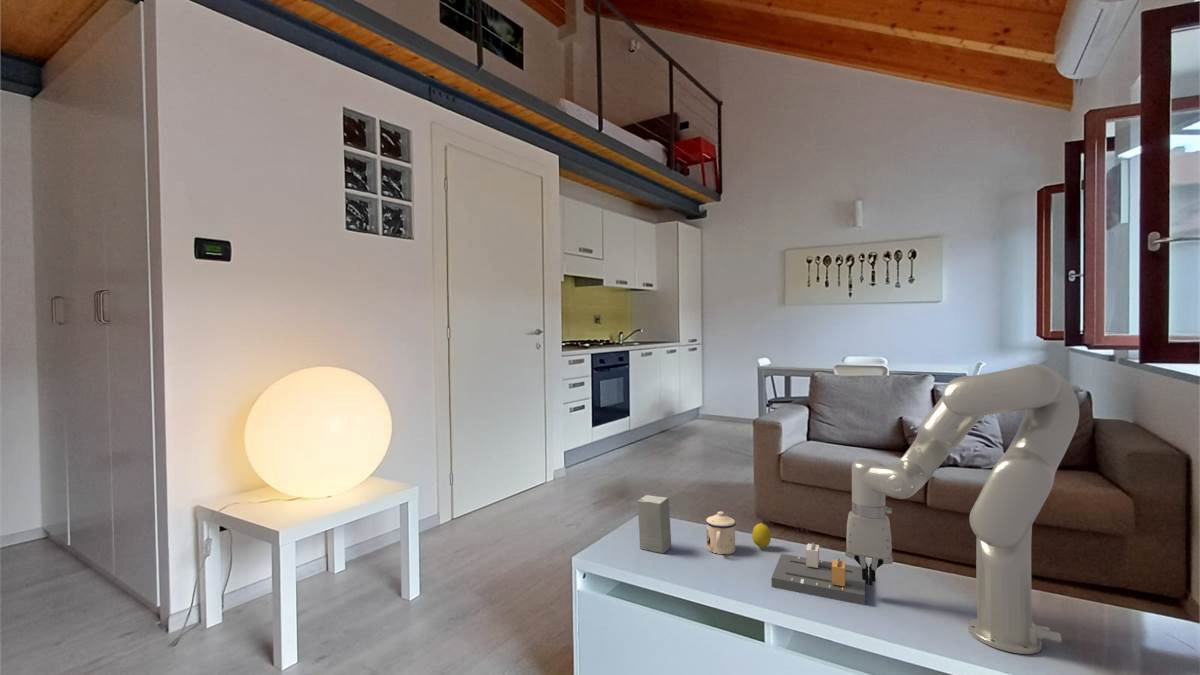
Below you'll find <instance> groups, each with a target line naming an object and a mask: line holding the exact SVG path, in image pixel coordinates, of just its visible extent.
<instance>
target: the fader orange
mask: <svg viewBox="0 0 1200 675" xmlns="http://www.w3.org/2000/svg"><path fill="white" fill-rule="evenodd" d="M831 562H832V584H834V585H839V586H845V579H846V571H845V564H846V561H845V560H841V558H839V557H838V559H832V561H831Z"/></svg>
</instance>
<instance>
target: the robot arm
mask: <svg viewBox="0 0 1200 675" xmlns="http://www.w3.org/2000/svg"><path fill="white" fill-rule="evenodd" d="M941 395H942V396H941V397H940V398H939V400H938V401H937V402H936V404H935V405H934V406H933V408H932V409H931V410H930V412H929V413H928V414H927V415H926V416H925V418H924V419H923V420H922V421H921V422H920V424H919V426H918V429H917V430H918V431H917V434H916V438H914V440H913V442H912V444H911V445H910V446H909V448H908V449H907V450H906V452H905V453H904V454H903V456H901V458H900V459H899V460H898V462H897V463H895V464H893V465H890V466H885V465H884V464H883V463H882V462H880V461H878V460H874V459H873V460H872V459H856V460H853V462H852V463H851V510H850V511H848V515H847V522H846V536H845V537H846V540H845V541H846V544H845V545H846V550H845V557H847V558H850V559H853V560H854V561H855V562H857V564H859V567H861V568H862V580H865V586H868V585H869V586H870V587H873V582H874V583H876V571H877V569H878V568H879V567H881V566H883V565H892V564H893V563H894V559H893V556H892V552H893V550H892V549H893V547H892V532H891V530H892V529H891V523H890V519H889V516H888V515H892V514H893V509H892V507H891V508H890V507H888V506H887V505H886V496H887V497H888V496H889V497H891V498H894V499H900V500H905V499H906V500H907V499H909V498H911V497H912V496H914V495H915V494H916V493H917V492H918V491H919V490H920V489H922V488H923V487H924V486H925V484H926V483H927V482H928V481H929V480H930V478H931V477H932V476H933V475H934V473H935V472H936V471H937V470H938V469H939V467H941V466H942V463H943V462H945V460H946V459H947V458H948V457H949V455H951V454H952V453H954V451H955V450H956V449H957V447H958V446H959V445H960V444H961V442H962V441H963V440H964V439H965V437H966V436H967V434H969V433H970V431H971V430H972V429H973V427H974V426H975V425H976V424H977V423H978V422H979V421H980V420H981V418H982V417H983V416H987V415H996V414H1002V413H1003V414H1004V413H1010V412H1017V411H1025V410H1026V411H1025V415H1024V417H1023V419H1022V420H1021V423H1020V425H1019V426H1018V429H1017V431H1016V434H1015V435H1014V438H1013V439H1012V441H1011V443H1010V445H1009V446H1008V448H1007V450H1006V451H1005V452H1004V453H1003V454H1002V455H1001V456H1000V458H999V459H998V460H997V461H996V462H995V463H994V466H993V467H992V470H991V471H990V473H989V475H988V477H987V480H986V481H985V483H984V485H983V487H982V489H981V491H980V493H979V494H978V497H977V499H976V500H975V502H974V505H973V506H972V508H971V510H970V514H969V525H970V528H971V531H972V532H973V533H974V536H976V544H975V545H976V546H975V548H976V549H975V551H976V552H975V553H976V554H975V555H976V559H975V560H976V564H975V567H976V568H975V569H976V571H975V572H976V576H975V577H976V618H974V619H972V620H969V622H968V631H969V633H970V634H971V635H972V636H973V637H974V639H977V640H978V641H980V642H982V643H983V644H985V645H988V646H989V647H992V648H995V649H998V650H1000V651H1004V652H1009V653H1012V654H1013V653H1014V654H1020V655H1031V654H1033V655H1034V654H1036V653H1039V652H1040V651H1042V646H1043V645H1042V641H1043V640H1044V641H1049V642H1050V643H1051V642H1052V643H1057V644H1062V642H1063V640H1062V635H1061V633H1060V632H1055V631H1051V629H1050V627H1047V626H1043V625H1036V623H1034V622H1033V620H1032V619H1033V617H1032V616H1033V615H1032V612H1033V611H1032V609H1033V608H1032V607H1033V606H1032V605H1033V604H1032V598H1033V597H1032V533H1033V530H1032V529H1033V524H1034V522H1035V520H1036V519H1037V517H1038V515H1039V513H1040V512H1041V509H1042V507H1044V504H1045V502H1046V500H1047V499H1048V497H1049V494H1050V493H1051V491H1052V488H1053V485H1054V482H1055V476H1056V473H1057V470H1058V469H1059V468H1058V467H1059V466H1060V464H1061V462H1062V460H1063V458H1064V457H1065V454H1066V452H1067V449H1068V448H1069V445H1070V444H1071V442H1072V439H1073V437H1074V435H1075V433H1076V430H1077V428H1078V425H1079V420H1080V405H1079V401H1078V398H1077V395H1076V392H1075V391H1074V389H1073V388H1072V386H1071V385H1070V383H1068V381H1067V380H1066V379H1065V378H1064V377H1063V376H1061V375H1060V374H1059V373H1058V372H1057V371H1055V370H1054V369H1053V368H1051V367H1049V366H1046V365H1043V364H1038V363H1037V364H1036V363H1035V364H1034V363H1032V364H1026V365H1023V366H1019V367H1014V368H1013V367H1012V368H1009V369H1003V370H999V371H998V370H996V371H993V372H987V373H982V374H975V375H963V376H960V377H959V376H958V377H955V378H954V379H952V380H950V381H948V383H947V384H946V385H945V386H944V388H943V390H942V394H941ZM866 557H867V558H871V562H870V564H869V565H868V563H867V558H866Z"/></svg>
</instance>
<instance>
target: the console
mask: <svg viewBox="0 0 1200 675" xmlns="http://www.w3.org/2000/svg"><path fill="white" fill-rule="evenodd" d="M832 562H833V561H828V560H821V559H819V565H818V568H815V567H810V566H806V557H803V556H797V555H793V554H786V553H781V554H780V555H779V559H778V561H777V562H776V563H777V564H776V565H775V568H774V571H773V573H772V576H771V578H770V579H771V588H776V589H781V590H786V591H789V592H790V591H791V592H795V593H801V594H805V595H811V596H817V597H821V598H827V599H832V600H836V601H837V600H838V601H841V602H842V601H843V602H846V603H847V602H848V603H853V604H858V605H862V604H863V605H862V606H865V605H866V585H865V580H862V568H861V566H857V565H851V564H846V563H845V571H846V579H845V586H839V585H834V584H832Z"/></svg>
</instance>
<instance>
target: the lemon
mask: <svg viewBox="0 0 1200 675" xmlns="http://www.w3.org/2000/svg"><path fill="white" fill-rule="evenodd" d="M771 538H772V533H771V530H770V528H769V526H768V525H766V524H764V523H763V522H760V523H757V524H756V525H754V526H753V530H752V540H753V543H754V544H755V545H756V546H757V547H759V549H764V548H766V547H767V546H769V545H770V543H771Z"/></svg>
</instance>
